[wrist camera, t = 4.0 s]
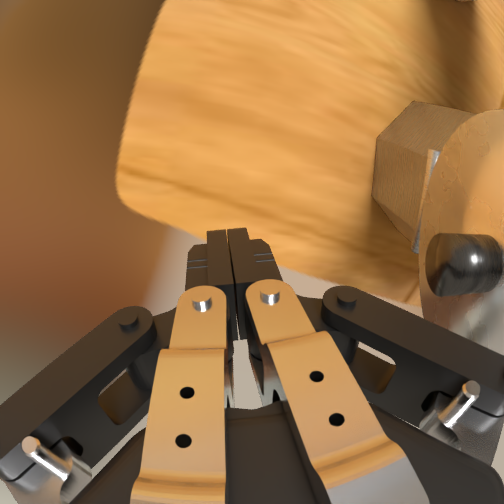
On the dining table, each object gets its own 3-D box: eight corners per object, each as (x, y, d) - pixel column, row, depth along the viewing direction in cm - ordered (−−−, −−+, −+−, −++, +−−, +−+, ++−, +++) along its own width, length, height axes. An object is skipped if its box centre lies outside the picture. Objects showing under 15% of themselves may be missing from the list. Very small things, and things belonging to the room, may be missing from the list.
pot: (378, 95, 20) (442, 104, 14) (493, 122, 22) (545, 141, 15) (366, 233, 27) (411, 280, 20) (475, 224, 29) (518, 256, 22)
